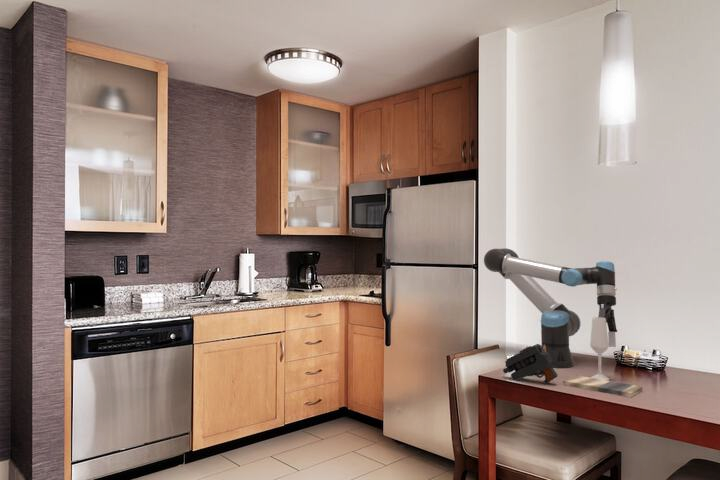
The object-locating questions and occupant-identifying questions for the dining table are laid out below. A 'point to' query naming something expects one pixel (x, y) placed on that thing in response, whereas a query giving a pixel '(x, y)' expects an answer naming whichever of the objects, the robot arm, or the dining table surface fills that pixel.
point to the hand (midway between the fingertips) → (607, 344)
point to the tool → (531, 364)
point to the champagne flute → (599, 342)
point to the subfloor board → (603, 386)
